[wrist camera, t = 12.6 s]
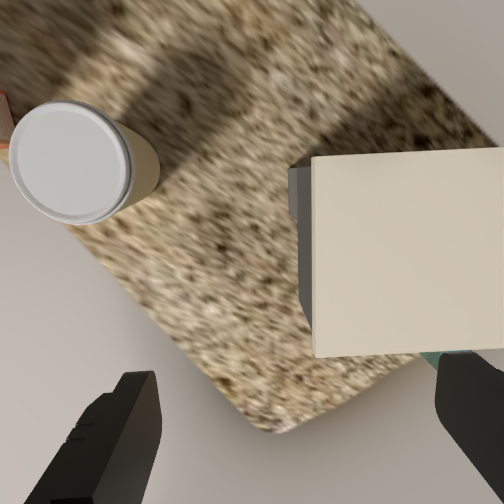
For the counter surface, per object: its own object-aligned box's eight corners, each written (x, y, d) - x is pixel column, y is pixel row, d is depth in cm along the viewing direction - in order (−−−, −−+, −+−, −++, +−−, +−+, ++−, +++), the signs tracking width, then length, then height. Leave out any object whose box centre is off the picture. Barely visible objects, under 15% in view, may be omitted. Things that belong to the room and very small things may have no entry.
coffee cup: (114, 103, 34) (46, 67, 23) (185, 162, 36) (155, 157, 24) (66, 172, 36) (-20, 172, 24) (136, 226, 37) (86, 250, 26)
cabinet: (283, 164, 36) (315, 156, 19) (435, 156, 36) (597, 142, 19) (286, 287, 39) (315, 371, 23) (425, 280, 40) (555, 359, 23)
